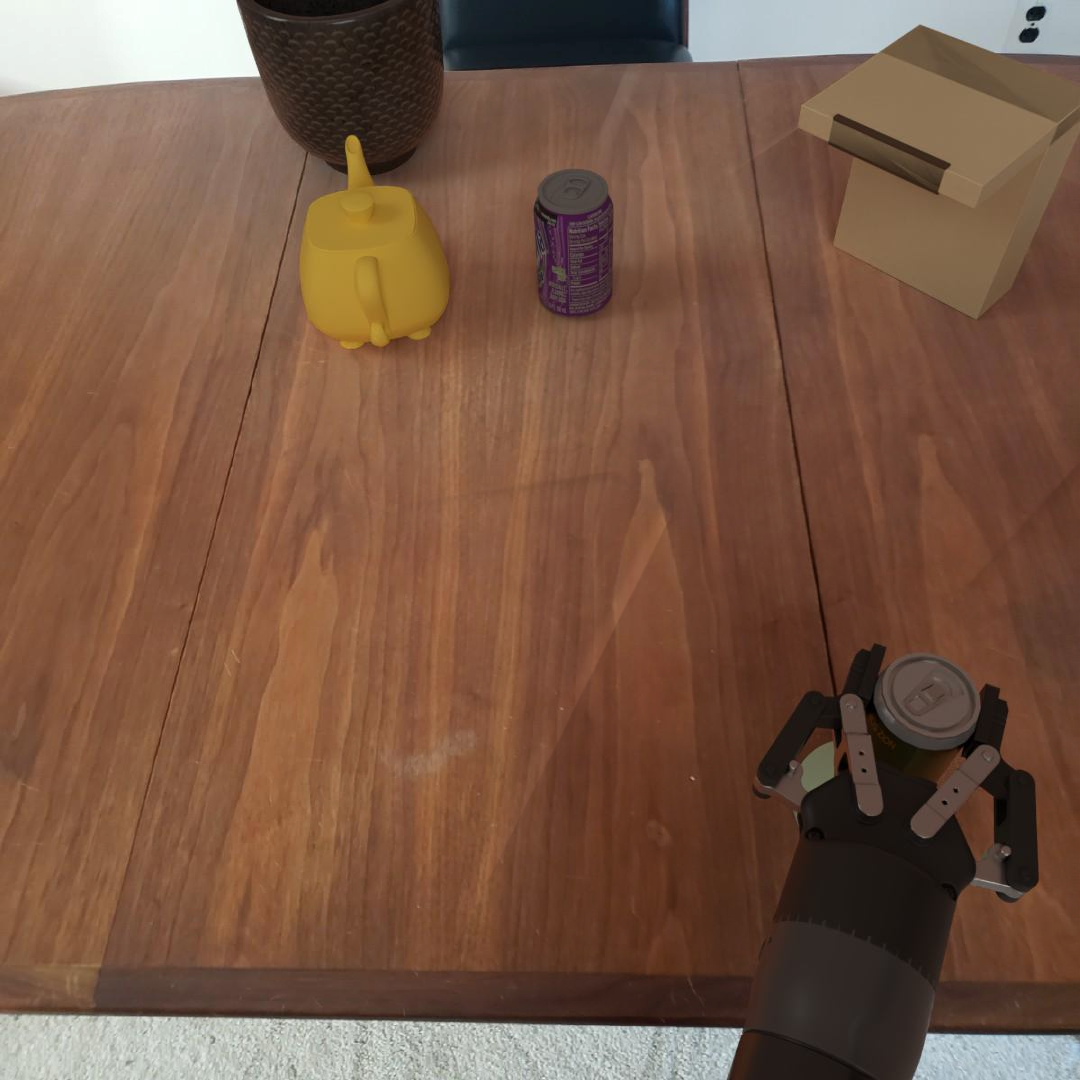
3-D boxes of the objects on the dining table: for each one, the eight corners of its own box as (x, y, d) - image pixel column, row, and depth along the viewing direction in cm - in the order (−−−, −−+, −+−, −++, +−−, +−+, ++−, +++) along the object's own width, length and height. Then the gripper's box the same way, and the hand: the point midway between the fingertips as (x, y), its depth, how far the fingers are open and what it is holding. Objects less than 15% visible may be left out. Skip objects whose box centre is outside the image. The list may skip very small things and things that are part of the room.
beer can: (875, 843, 58) (933, 761, 48) (812, 772, 60) (855, 682, 51) (939, 794, 59) (1008, 706, 50) (875, 727, 62) (929, 631, 52)
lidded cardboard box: (911, 380, 85) (983, 183, 69) (766, 297, 93) (801, 102, 76) (1033, 268, 93) (1124, 68, 77) (890, 199, 100) (946, 3, 84)
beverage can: (554, 267, 97) (549, 159, 87) (621, 282, 95) (624, 173, 85) (527, 313, 93) (519, 205, 83) (597, 329, 91) (597, 221, 81)
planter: (423, 212, 103) (393, 31, 87) (254, 190, 106) (196, 12, 91) (478, 110, 114) (460, -67, 98) (323, 93, 117) (282, -80, 102)
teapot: (314, 386, 88) (277, 273, 78) (310, 249, 100) (277, 135, 90) (463, 364, 89) (446, 250, 79) (442, 231, 101) (424, 116, 90)
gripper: (1042, 1028, 39) (1099, 687, 48) (706, 877, 43) (815, 588, 52) (982, 1058, 45) (1042, 750, 54) (692, 922, 50) (792, 657, 58)
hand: (930, 672), depth 53 cm, fingers closed on beer can, 5 cm apart
